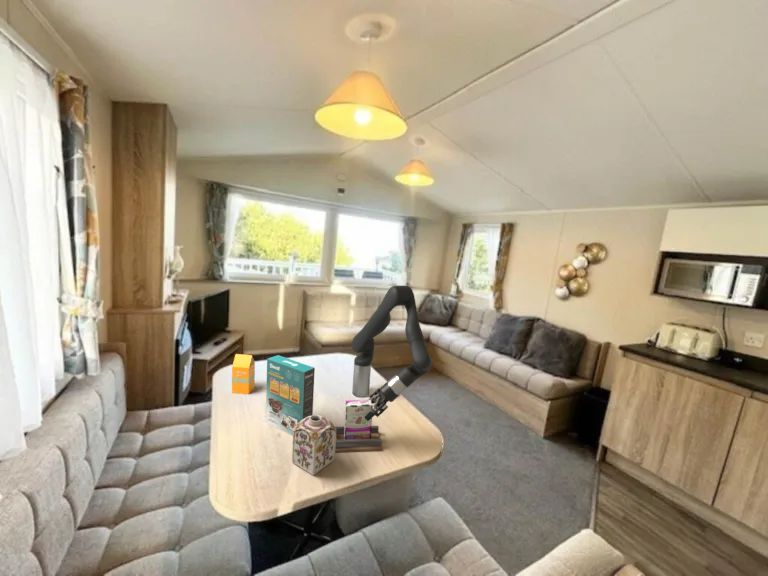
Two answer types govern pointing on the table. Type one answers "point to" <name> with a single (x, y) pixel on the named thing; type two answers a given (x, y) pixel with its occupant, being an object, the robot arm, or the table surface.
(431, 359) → the robot arm
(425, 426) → the table surface
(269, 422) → the cake mix box
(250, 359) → the orange juice
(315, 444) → the decorative jar
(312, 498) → the table surface
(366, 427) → the candy bar box
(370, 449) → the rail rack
